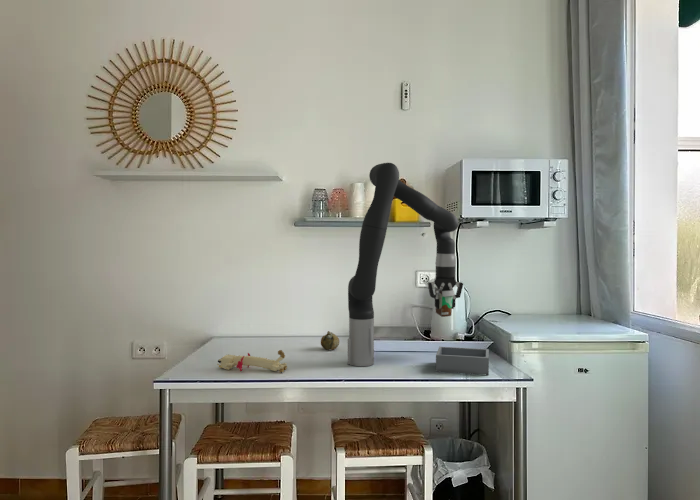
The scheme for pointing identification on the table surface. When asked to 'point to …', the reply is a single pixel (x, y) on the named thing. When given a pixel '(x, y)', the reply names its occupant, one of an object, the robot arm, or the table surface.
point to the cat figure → (252, 362)
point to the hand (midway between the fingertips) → (444, 308)
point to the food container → (445, 303)
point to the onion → (329, 341)
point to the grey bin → (462, 360)
